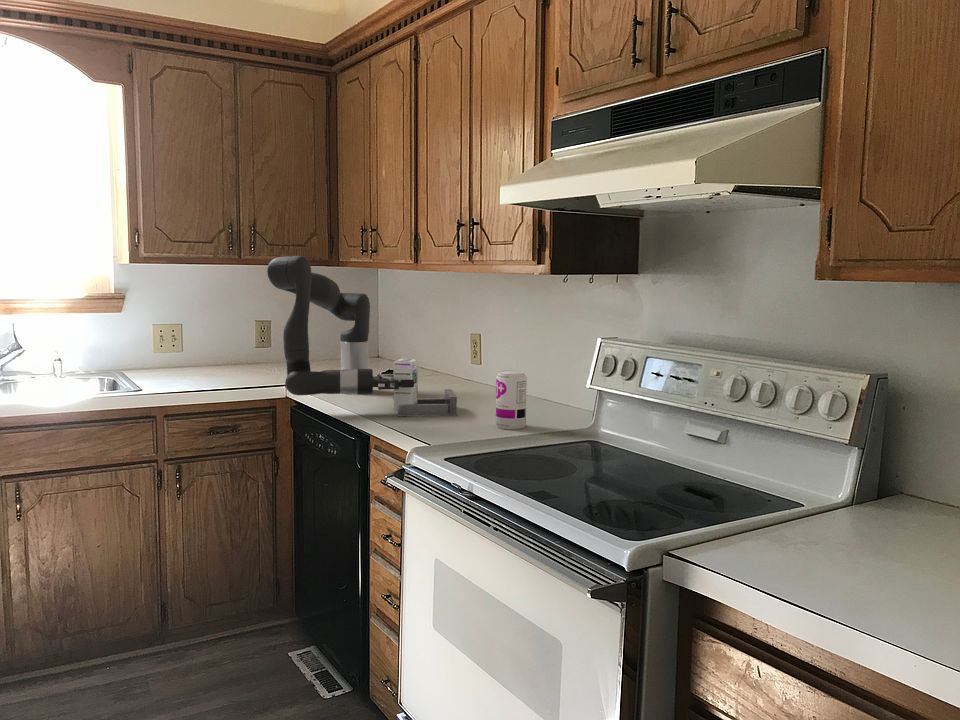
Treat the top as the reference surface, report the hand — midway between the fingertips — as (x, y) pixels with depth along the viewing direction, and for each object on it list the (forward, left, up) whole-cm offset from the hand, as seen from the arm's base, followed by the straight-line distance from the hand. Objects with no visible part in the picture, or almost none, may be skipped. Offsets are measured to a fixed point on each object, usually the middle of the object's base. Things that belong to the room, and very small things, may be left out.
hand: (413, 381), depth 238 cm
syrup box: (0, -2, -8) cm, 9 cm away
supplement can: (+24, +25, -9) cm, 36 cm away
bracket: (0, +4, -9) cm, 10 cm away
